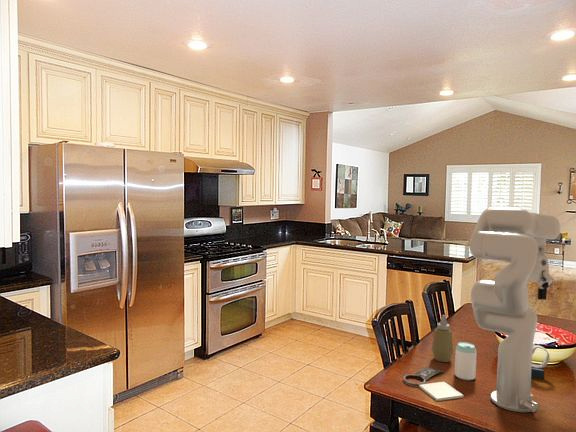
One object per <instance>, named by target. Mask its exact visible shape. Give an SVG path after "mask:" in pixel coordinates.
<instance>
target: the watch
mask: <svg viewBox="0 0 576 432" xmlns="http://www.w3.org/2000/svg"><path fill="white" fill-rule="evenodd" d="M537 349H542V350H544V351H545V352H546V353H547V354H546V357H545V358H544V361H543V362H541V364H536V363H532V368H531V378H533V379H534V378H536V379H540V380H541V379H542V380H545V369H544V368H545V367H546V366H547V365H548V363H549V362H550V358H551V357H550V353H549V352H548V350H547V349H546V348H545V347H544V346H543V345H538V344H533V350H532V356H533V355H534V353H535V352H536V351H537Z"/></svg>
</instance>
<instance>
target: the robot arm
mask: <svg viewBox="0 0 576 432" xmlns="http://www.w3.org/2000/svg"><path fill="white" fill-rule="evenodd" d="M560 232H561V224H560V221H559V219H558V218H557V217H556V216H552V215H549V214H548V215H546V214H542V213H537V212H531V211H528V210H527V209H523V208H518V207H497V206H496V207H487V208H486V209H485V210H483V211H482V213H481V214H480V216H479V218H478V220H477V223H476V225H475V227H474V229H473V232H472V234H471V236H470V237H471V238H470V241H469V251H470V254H471V255H472V256H473V257H474V258H476V259H478V260H483V261H494V262H505V263H508V264H507V265H505V266H504V267H502V268H500V270H498V271H497V272H496V274H495V275H494V277H493V280H490V279H489V280H488V279H487V280H485V279H481V280H477V281H475V283H473V286H472V288H471V293H470V303H471V306H472V310H473V315H474V318H475V322H476V324H477V325H478V327H479V328H481V329H482V330H486V331H491V332H495V333H496V332H497V333H502V334H505V335H508V336H506V337H505V338H504V339H503V340H502V341H501V342H500V343H499V345H498V349H497V369H496V370H497V371H496V372H497V373H496V389H495V390H494V391H492V392H491V393H490V400H491V401H492V402H493V404H495V405H497V406H498V407H499V408H502V409H504V410H508V411H511V412H515V413H530V412H531V413H535V412H536V411H537V409H539V406H540V405H539V403H538V402H535V401H534V395H533V394H532V393H531V384H532V377H531V368H532V364H533V363H532V361H533V355H532V350H533V345H534V339H535V334H536V330H537V325H538V315H537V313H536V311H534V310H533V309H531V308H530V307H529V306H530V295H529V288H528V282H529V281H530V282H534V283H536V284H537V285H538V287H539V288H537V299H538V301H539V300H540V301H541V300H542V301H543V300H547V295H548V293H547V292H548V291H547V290H548V289H549V288H550V287H551V286H552V283H553V282H554V277H552V276H551V275H550V269H549V267H550V266H549V259H548V258H549V257H548V255H547V254H546V253H547V252H548V251H547V248H546V246H547V245H546V242H547V240H556V239H558V237H559V236H560V234H561V233H560Z"/></svg>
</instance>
